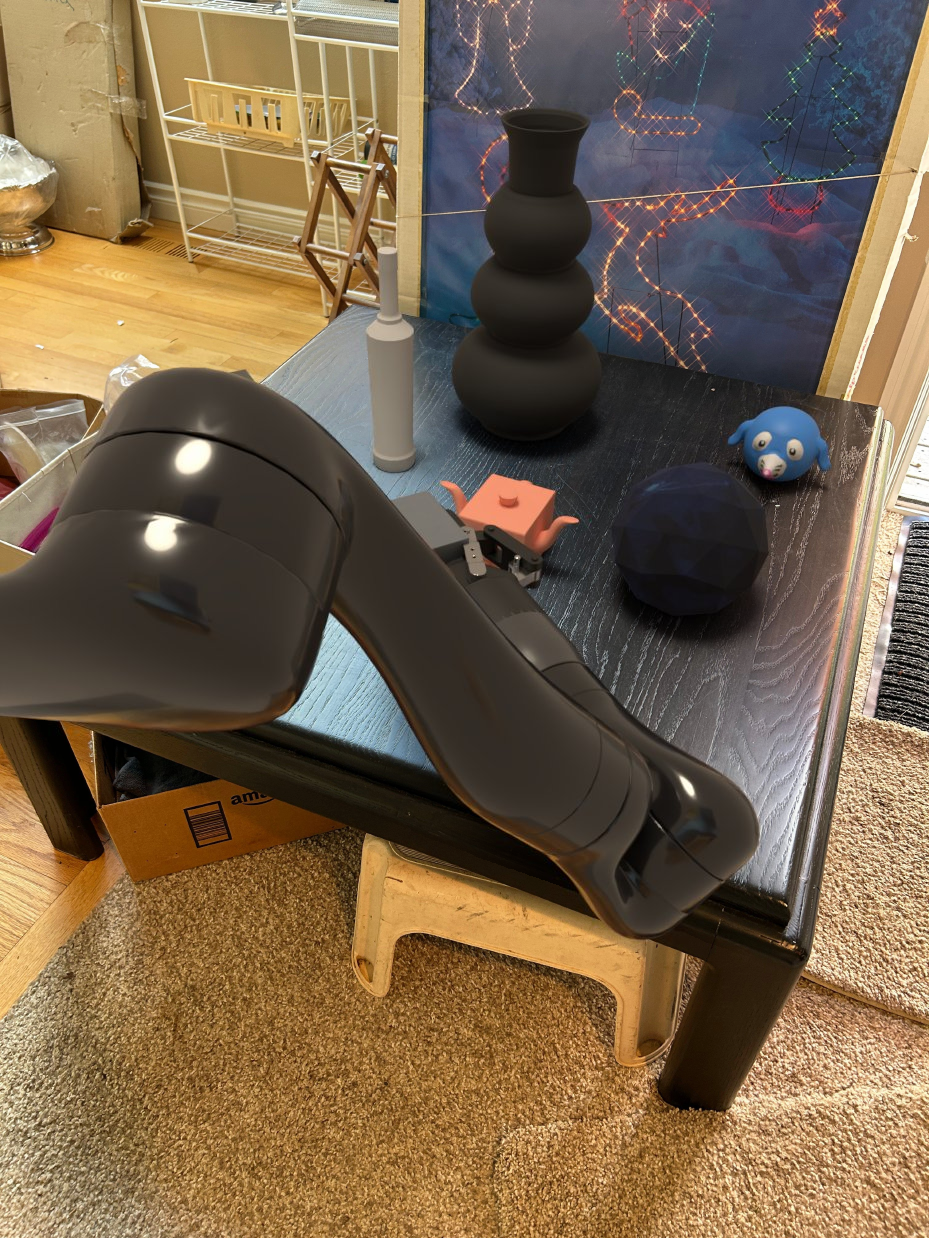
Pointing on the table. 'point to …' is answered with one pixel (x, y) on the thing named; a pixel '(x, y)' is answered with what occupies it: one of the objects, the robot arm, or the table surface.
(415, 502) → the grey rectangular block
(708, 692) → the table surface
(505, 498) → the teapot
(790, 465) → the blue mole toy
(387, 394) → the bottle
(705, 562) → the decorative orb
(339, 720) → the table surface
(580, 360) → the vase
